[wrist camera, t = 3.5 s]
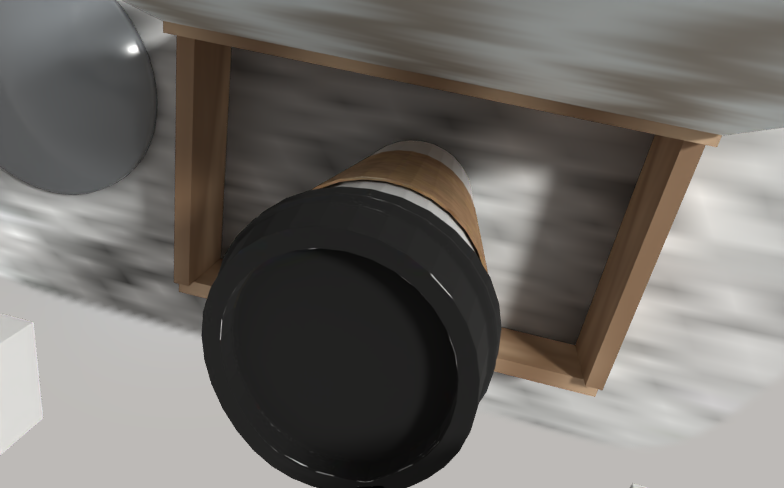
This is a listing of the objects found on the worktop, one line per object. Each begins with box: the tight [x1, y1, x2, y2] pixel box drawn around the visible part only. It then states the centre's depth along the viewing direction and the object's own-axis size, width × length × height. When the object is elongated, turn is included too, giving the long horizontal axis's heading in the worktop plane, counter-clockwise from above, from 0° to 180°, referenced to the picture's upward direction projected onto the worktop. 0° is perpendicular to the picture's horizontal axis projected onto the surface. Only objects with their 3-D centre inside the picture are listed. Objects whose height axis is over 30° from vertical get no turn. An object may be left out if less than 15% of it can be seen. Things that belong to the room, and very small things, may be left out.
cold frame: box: [122, 0, 784, 397], centre depth 18 cm, size 22×19×18 cm
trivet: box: [0, 0, 157, 194], centre depth 28 cm, size 12×12×1 cm
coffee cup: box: [202, 140, 502, 488], centre depth 20 cm, size 8×8×15 cm
